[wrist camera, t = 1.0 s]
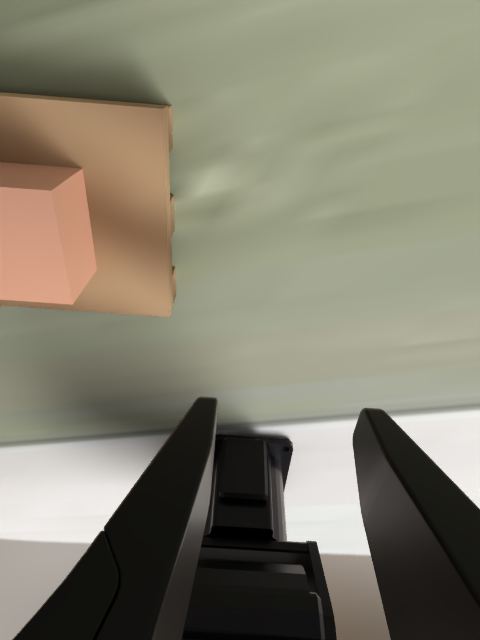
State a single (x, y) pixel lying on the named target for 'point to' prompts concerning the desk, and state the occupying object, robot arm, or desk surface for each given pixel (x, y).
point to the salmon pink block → (44, 234)
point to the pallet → (106, 191)
